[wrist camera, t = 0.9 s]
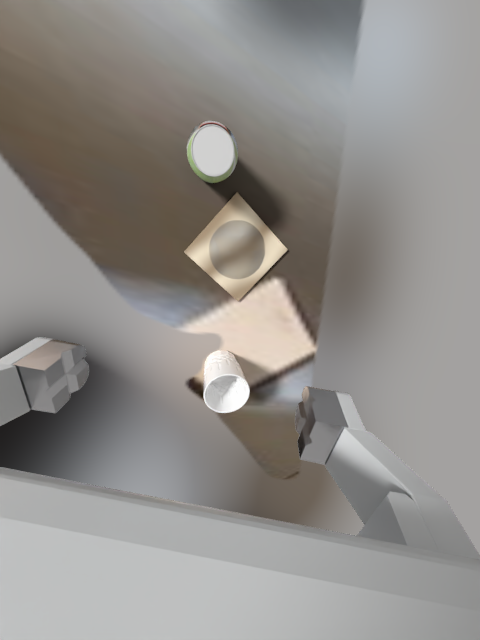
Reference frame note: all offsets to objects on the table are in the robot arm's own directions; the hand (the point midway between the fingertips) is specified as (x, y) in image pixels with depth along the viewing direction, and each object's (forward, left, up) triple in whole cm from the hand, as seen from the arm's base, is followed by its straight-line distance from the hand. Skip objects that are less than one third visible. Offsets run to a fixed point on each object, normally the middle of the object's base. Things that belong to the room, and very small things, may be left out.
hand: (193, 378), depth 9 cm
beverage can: (-8, +13, -37) cm, 39 cm away
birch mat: (+4, +7, -36) cm, 37 cm away
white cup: (+18, -12, -37) cm, 42 cm away
